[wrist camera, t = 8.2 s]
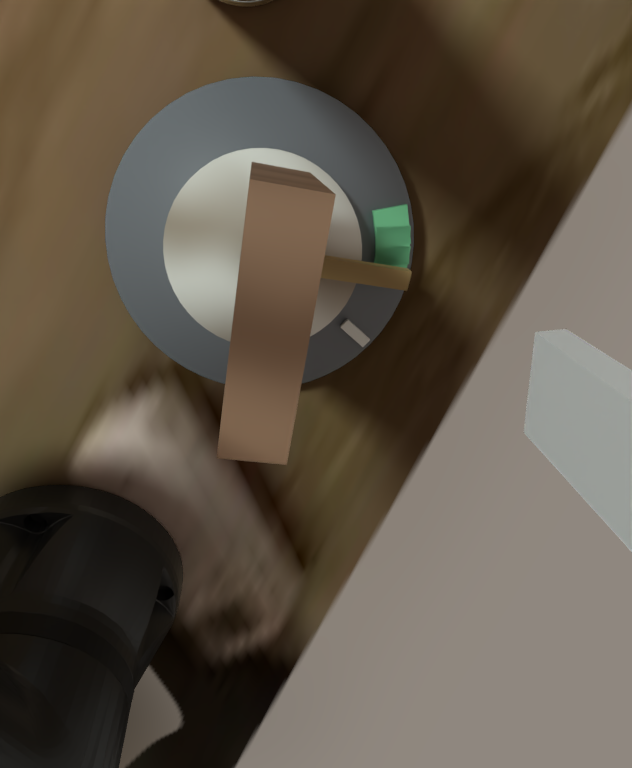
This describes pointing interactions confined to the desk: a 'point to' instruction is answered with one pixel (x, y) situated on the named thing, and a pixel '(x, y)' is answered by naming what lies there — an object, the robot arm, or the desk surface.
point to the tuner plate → (236, 132)
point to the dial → (265, 281)
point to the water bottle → (246, 2)
